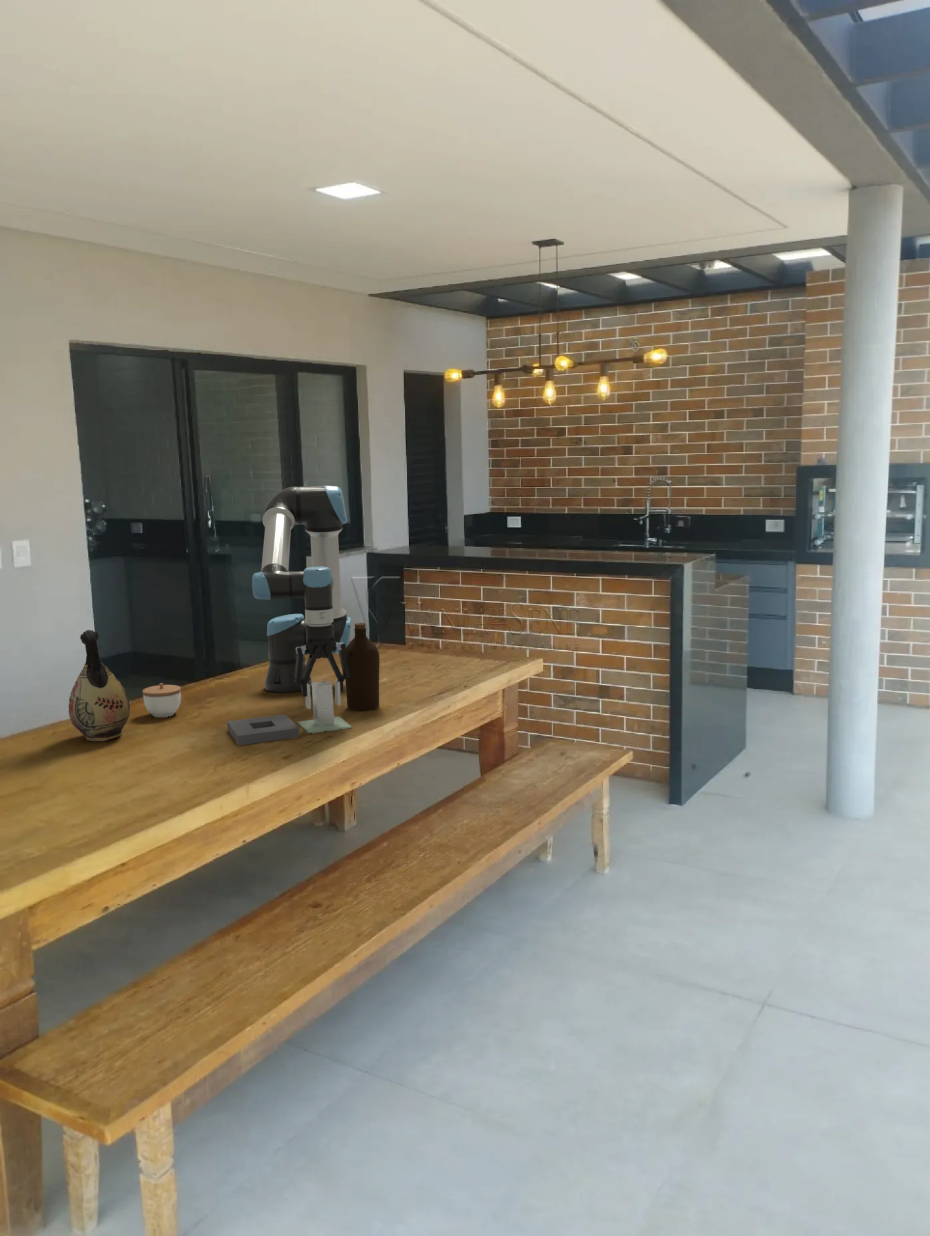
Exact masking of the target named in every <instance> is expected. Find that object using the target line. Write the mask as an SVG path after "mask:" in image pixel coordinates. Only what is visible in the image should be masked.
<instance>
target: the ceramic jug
mask: <svg viewBox="0 0 930 1236" xmlns="http://www.w3.org/2000/svg"><path fill="white" fill-rule="evenodd" d="M79 638H80V640H81V643H82V644H84V647H85V653H86V656H85V663H84V665H83V668H82V670H80V673H79V674H78V675H77V676H78V677H77V679H76V681H75V683H74V685H73V687H72V689H71V692H70V696H69V700H68V716H69V720H70V721H71V724H72V725H73V727H74V728H76V729H77V730H78V731H79V732H80V733H81V734H82V736H84V737H85V740H86V741H90V742H106V741H108V740H112V739H116V738H118V737H121V736H122V734H123V733H122V730H123V728H124V727H125V726H126V723H127V722H128V720H129V717H130V713H131V707H130V706H131V705H130V700H129V697H128V695H127V692H126V690H125V687H123V685H122V683H121V681H119V679H118V678H117V677H116V676H115V674H114V673H113V672H112V671H111V670H110V669H109V668H108V666H106V665H105V664H104V663H103V660H102V659H101V657H100V653H99V647H98V643H97V642H98V640H99V638H100V635H99V632H97V631H94V630H91V629H87V630H86V631H83V633H81V634H80V635H79Z"/></svg>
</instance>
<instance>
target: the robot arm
mask: <svg viewBox="0 0 930 1236" xmlns="http://www.w3.org/2000/svg"><path fill="white" fill-rule="evenodd" d="M271 497H272V498H270V500H269V501H268V502H267V504H266V506H265V508H264V509H263V511H262V512H263V513H262V524H263V526H264V538H263V546H262V547H263V549H262V559H261V560H262V561H261V570H260V571H259V572H254V573H253V574H252V579H251V580H252V581H251V585H252V586H251V587H252V594H253V597H254V599H257V600H268V601H270V600H284V599H285V600H286V599H287V600H288V599H304V614H305V615H304V614H302V613H293V614H292V613H291V614H285V615H280V616H276V617H273V618H272V619H270V620H269V621H268V622H267V628H266V629H267V630H266V636H267V649H268V650H267V651H268V667H267V672H266V675H265V677H264V678H265V679H264V689H265V691H268V692H271V693H272V692H273V693H292V692H293V693H294V692H300V691H301V696H302V697H303V698H305V708H306V709H308V710H311V709H312V703H311V698H312V697H311V689H312V683H313V678H312V676H311V674H312V671H313V669H314V665H315V663H316V661H317V659H319V660H320V659H322V658H323V659H327V660H328V662H329V664H330V666H331V669H332V671H333V673H334V675H335V677H336V680H335V679H334V697H335V698H334V702H335V704H336V705H338V706H342V703H341V701H342V700H341V693H344V691H345V690H344V688H345V687H344V682H345V679H347V678H349V677H350V674H349V669H348V664H347V659H346V654H345V649H346V647H347V645H348V644H349V643H350V642H351V641H350V640H351V628H352V627H351V626H352V617H350V616H347V611H346V610H345V608H343V607H342V593H341V592H342V591H341V590H342V589H341V571H340V570H341V567H340V550H339V549H340V548H339V534H340V533H341V532H342V530H343V529H344V528H343V527H344V526H343V525H345V524H347V522H348V519H347V512H346V511H347V510H346V505H345V499H344V494H343V491H342V488H341V487H339V486H336V485H334V486H333V485H313V486H312V485H310V486H289V487H287V488H284V489H282V490H280V491H278V492H277V493H275V494H274V495H273V496H271ZM295 525H297V526H298V525H300V526H301V525H304V530H305V532H306V533H307V534H308V535H309V536H310V549H311V551H310V552H311V553H310V554H311V567H305V569H304V570H303V571H300V570H299V571H298V570H297V571H289V568H290V567H289V566H290V564H289V563H290V550H291V549H290V548H291V547H290V546H291V534H292V533H291V531H292V529H293V528H294V527H295ZM336 654H338V657H339V661H340V666H341V667H340V668H341V669H340V668H339V665H338V663H337V662H336V660H335V656H334V655H336ZM306 655H308V658H307V659H306ZM306 660H307V662H306ZM341 670H342V672H341Z"/></svg>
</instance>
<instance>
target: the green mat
mask: <svg viewBox="0 0 930 1236" xmlns="http://www.w3.org/2000/svg"><path fill="white" fill-rule="evenodd" d="M297 724H298V726H300V727H301V728H302V729H303V730H304V731H305V732H306V733H307V734H308V735H310V734H309V733H312V734H319V733H325V732H324V731H327V732H335V731H340V730H339V729H343V730H349V729H348V728H350V729H352V727H353V726H352V725H350V724H349V723H348V722H347V721H345V720H344V719H343V718H342V717H340V716H334V725H330V726H323V727H318V726H317V725H316V724H314V719H308V720H300V721H297Z"/></svg>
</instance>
